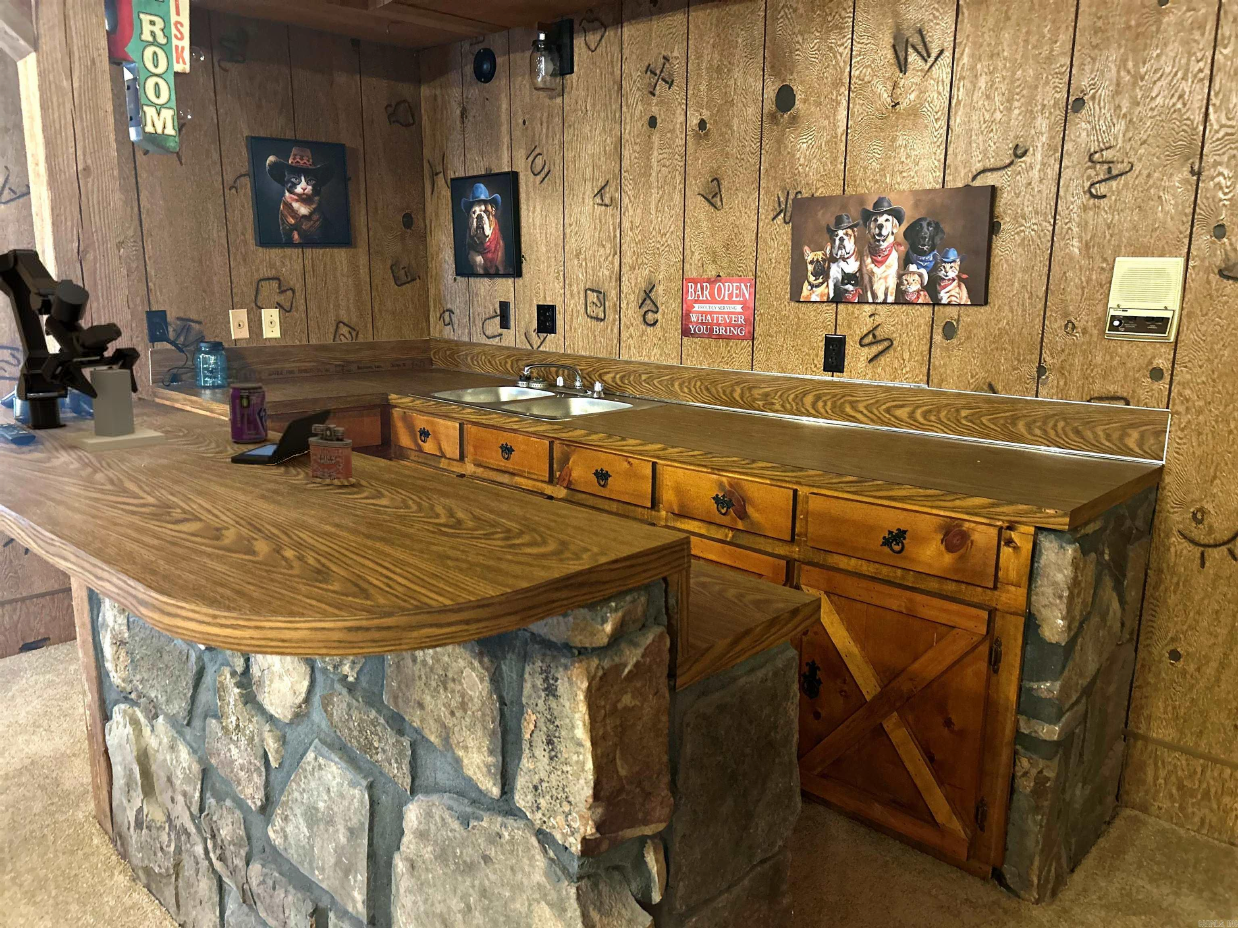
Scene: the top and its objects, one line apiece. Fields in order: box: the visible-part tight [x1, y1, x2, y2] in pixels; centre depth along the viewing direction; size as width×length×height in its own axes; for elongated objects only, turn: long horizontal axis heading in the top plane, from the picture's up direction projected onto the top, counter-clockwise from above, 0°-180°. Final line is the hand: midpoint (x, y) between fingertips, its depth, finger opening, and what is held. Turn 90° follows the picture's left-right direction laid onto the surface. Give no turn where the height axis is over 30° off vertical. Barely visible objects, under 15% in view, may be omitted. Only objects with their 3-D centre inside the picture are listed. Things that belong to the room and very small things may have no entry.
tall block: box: [89, 368, 135, 437], centre depth 180 cm, size 5×5×13 cm
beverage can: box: [228, 382, 269, 444], centre depth 186 cm, size 7×7×12 cm
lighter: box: [309, 424, 353, 480], centre depth 152 cm, size 8×3×10 cm, turn 71°
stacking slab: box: [66, 425, 167, 454], centre depth 182 cm, size 14×14×2 cm
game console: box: [230, 408, 332, 465], centre depth 171 cm, size 16×14×9 cm
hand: (116, 394), depth 180 cm, fingers open, 9 cm apart
